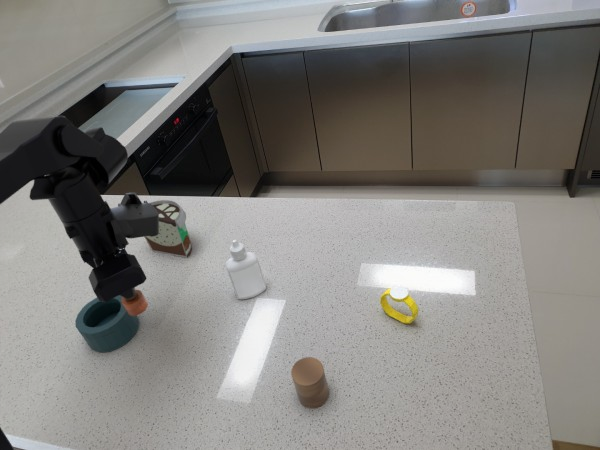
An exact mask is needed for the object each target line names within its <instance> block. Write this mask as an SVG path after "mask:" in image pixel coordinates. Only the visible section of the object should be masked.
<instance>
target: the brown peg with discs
mask: <svg viewBox="0 0 600 450" xmlns="http://www.w3.org/2000/svg"><path fill="white" fill-rule="evenodd" d="M133 293H134V296H133V297H131V298H129V299H126V298H124V297H122V299H121V302H122V304H123V306H124V307H125V309H126V311H127V313H128V314H129V315H131V316H136V315H137V316H139V315H142V314H143V313H144V312H146V310H147V309H148V306H149V304H148V303H149V302H148V301H147V299H146V297H145V296H144V294H143V291H142V290H140V289H136V287H134V288H133Z"/></svg>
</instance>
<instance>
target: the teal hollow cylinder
mask: <svg viewBox="0 0 600 450" xmlns="http://www.w3.org/2000/svg"><path fill="white" fill-rule="evenodd" d="M121 299H122V296H120V295H119V296H117V297H115V298H113V299H111V300H109V301H107V302H100V301H99V299H98V298H97V297H95V298H94V299H92V300H90V301H89V302H88V303H86V304H85V305H84V306H83V307H82V308H81V309H80V310H79V312H78V313H77V315H76V318H75V328H76V330H77V331H78V332H79V334H80V336H82V338H83V340H84V341H85V342H86V344H87V345H88V346H89V348H90V349H91V350H93V351H94V352H97V353H108V352H113V351H115V350H116V351H117V350H119V348H121V347H123V346H125V345H126V344H128V343H129V342H130V341H131V340H132V339H133V338H134V336H135V335H136V334H137V332H138V330H139V328H140V319H139V317H138V316H139V315H136V316H131V315H129V314H128V313H127V311H126V309H125V307H124V306H123V304H122V302H121Z"/></svg>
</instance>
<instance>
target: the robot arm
mask: <svg viewBox="0 0 600 450" xmlns="http://www.w3.org/2000/svg"><path fill="white" fill-rule="evenodd" d="M128 155H129V153H128V151H127V148H126V147H125V146H124V145H123V144H122V143H121V141H119V140H118V139H117V138H115V137H114V136H111V135H109V134H106V132H105V130H104V128H103V127H100V126H99V127H92V128H91V127H90V128H88V129H87V130H86V131H85V132H84V131H83V130H82V129H80V128H79V127H77V126H75V125H74V124H73V123H72V121H71V120H69V119H68V118H67V117H66V116H65V115H53V116H43V117H36V118H28V119H18V120H14V121H12V122H10V123H9V124H8V125H7V126H6V127H5V128H4V129H3V130H2V131H1V132H0V205H2V204H3V203H4V202H6V201H7V200H8V199H10V198H11V197H13V195H15V194H16V193H17V192H19V191H20V190H21V189H22V188H24V187H25V186H26V185H28V184H29V183H30V182H32V181H33V185H32V187H31V189H30V191H29V199H30V200H31V201H42V200H48V202H49V203H50V205H51V206H52V208H53V210H54V212H55V213H56V215H57V217H58V219H59V221H60V222H61V223H62V225H63V227H64V230H65V233H66V235H67V237H68V238H69V239H70V240H72V242H73V243H74V245H75V247H76V248H77V250H78V252H79V255H80V258H81V260H82V262H83V263H84V264H85V263H86V264H87V265H88V266H90V267H91V268H92V269H91V271H90V273H89V276H88V281H89V283H90V285H91V288H92V291H93V293H94V295H95V296H96V298H98V299H99V301H100V302H107V301H109V300H111V299H113V298H115V297H117V296H119V295H120V296H122V297H124V298H126V299H129V298H131V297H133V296H134V293H133V288H134V287H135V288H136V287H138V286H140V285H142V284H145V282H146V280H147V276H146V273H145V272H144V270H143V267H142V266H141V264H140V263H139V261H138V258H137V257H136V255H134V254H132V253H131V254H130V253H128V252H127V250H126V248H127V246H128V245H129V241H128V239H137V238H145V236H150V237H153V236H157V235H158V234H159V213H158V212H157V210H156V209H155V208H154V206H153V205H152V204H150V203H151V202H148V201H147V200H144V201H143V202H142V201H141V199H140V198H139V195H137V193H136V192H126V193H124V195H123V197H122V199H121V201H120V203H117V206H114V207H110V205H109V203H108V201H107V200H104V199H103V197H102V194H101V193H100V190H101V189H104V188H107V186H108V185H109V184H110V183H111V182H112V181H113V179H114V178H115V177H116V176H117V175H118V174H119V172H120V171H121V170H122V169H123V168H124V167H125V165H126V164H127V162H128V159H129V156H128ZM0 450H15V448H14V446H13V445H12V443H11V441H10V440H9V439H8V436H7V435H6V434H5V432H4V430H3V429H2V427H1V426H0Z"/></svg>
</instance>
